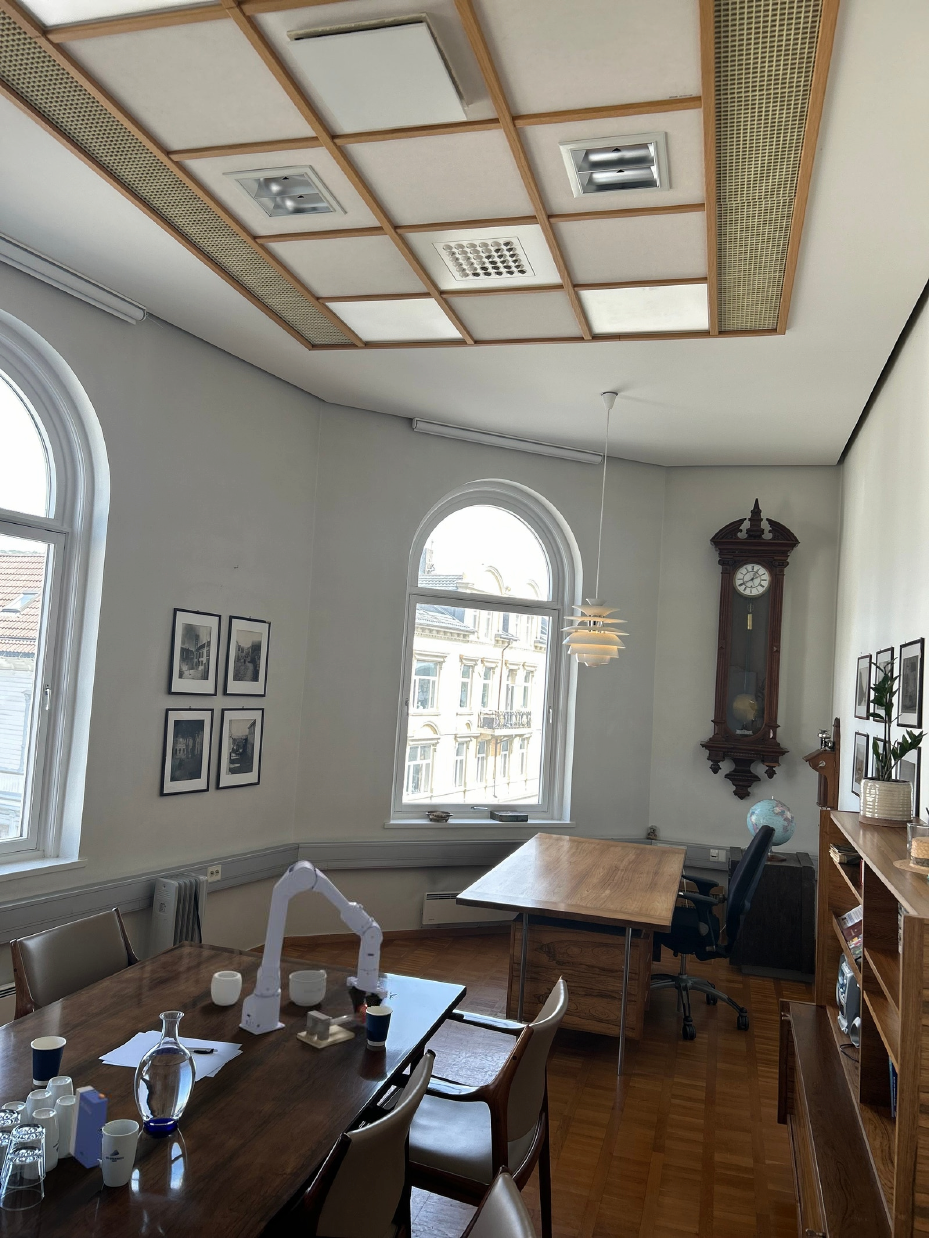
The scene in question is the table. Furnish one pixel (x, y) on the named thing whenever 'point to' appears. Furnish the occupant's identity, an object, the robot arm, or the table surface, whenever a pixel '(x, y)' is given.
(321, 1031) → the eye bracket
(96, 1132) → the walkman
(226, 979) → the mug
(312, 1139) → the table surface
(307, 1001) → the teacup
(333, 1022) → the hook rod
